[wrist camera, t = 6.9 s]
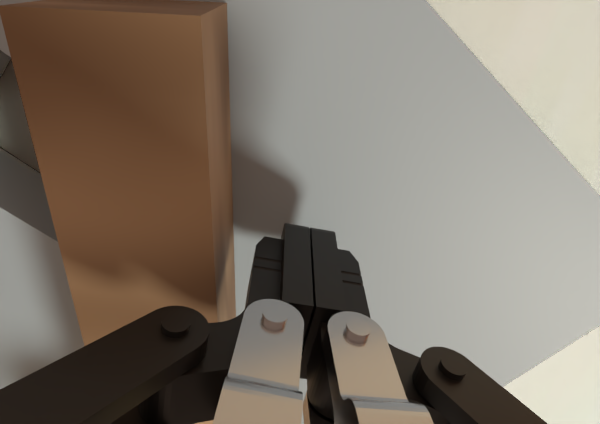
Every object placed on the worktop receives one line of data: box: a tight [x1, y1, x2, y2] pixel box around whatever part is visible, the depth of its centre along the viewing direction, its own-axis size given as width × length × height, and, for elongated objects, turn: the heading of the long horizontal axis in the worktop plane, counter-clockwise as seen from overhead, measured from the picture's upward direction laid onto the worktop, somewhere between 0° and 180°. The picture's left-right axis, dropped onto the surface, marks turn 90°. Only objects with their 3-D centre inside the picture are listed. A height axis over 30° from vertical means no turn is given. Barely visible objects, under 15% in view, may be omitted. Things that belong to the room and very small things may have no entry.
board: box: [0, 0, 600, 424], centre depth 17 cm, size 26×26×2 cm
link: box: [0, 0, 236, 424], centre depth 14 cm, size 21×6×4 cm, turn 177°
